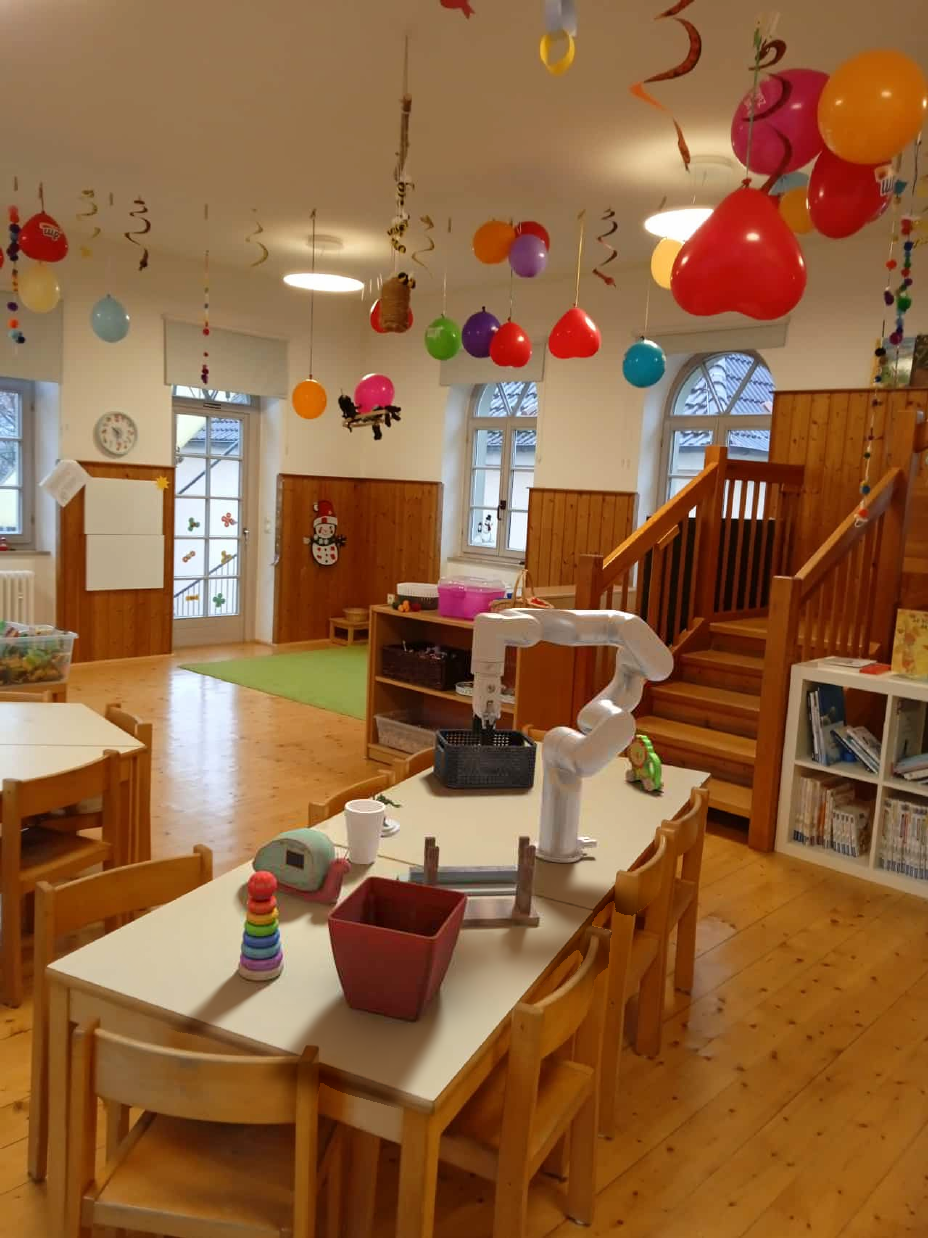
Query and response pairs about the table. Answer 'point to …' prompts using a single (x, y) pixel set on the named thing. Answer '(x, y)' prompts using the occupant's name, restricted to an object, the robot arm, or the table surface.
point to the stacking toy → (261, 931)
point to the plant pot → (395, 944)
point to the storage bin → (484, 760)
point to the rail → (468, 875)
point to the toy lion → (644, 763)
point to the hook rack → (493, 909)
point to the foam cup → (364, 829)
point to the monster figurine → (388, 824)
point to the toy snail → (304, 865)
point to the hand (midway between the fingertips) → (482, 739)
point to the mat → (474, 887)
